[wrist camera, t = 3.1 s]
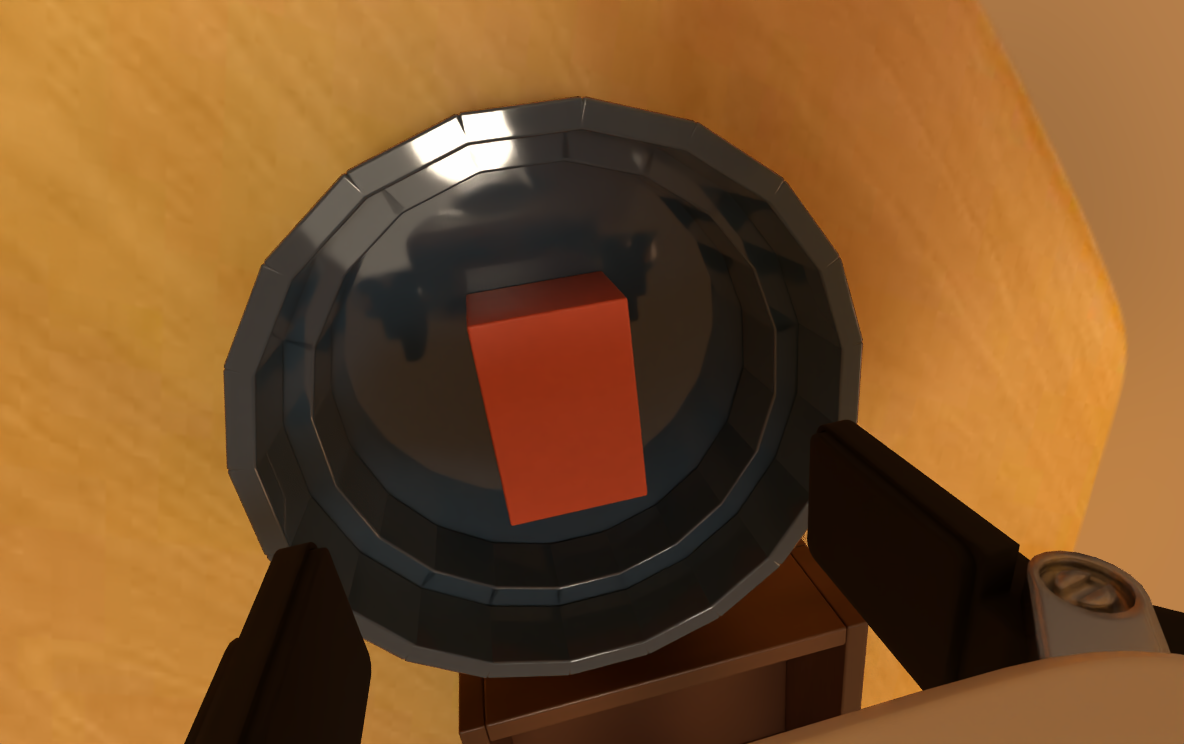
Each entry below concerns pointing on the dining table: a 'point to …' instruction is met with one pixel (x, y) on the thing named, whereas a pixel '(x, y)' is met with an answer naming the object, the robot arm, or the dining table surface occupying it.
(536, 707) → the holder
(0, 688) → the dining table surface
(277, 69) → the dining table surface
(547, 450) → the block
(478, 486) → the bowl
